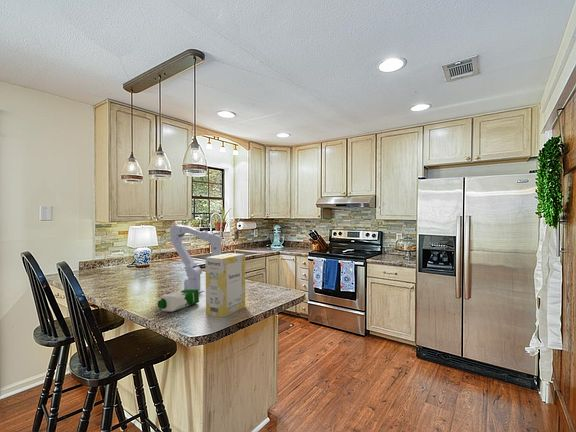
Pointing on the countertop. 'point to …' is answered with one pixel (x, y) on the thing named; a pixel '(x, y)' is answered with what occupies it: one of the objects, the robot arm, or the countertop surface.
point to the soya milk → (178, 300)
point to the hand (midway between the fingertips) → (217, 276)
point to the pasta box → (225, 284)
